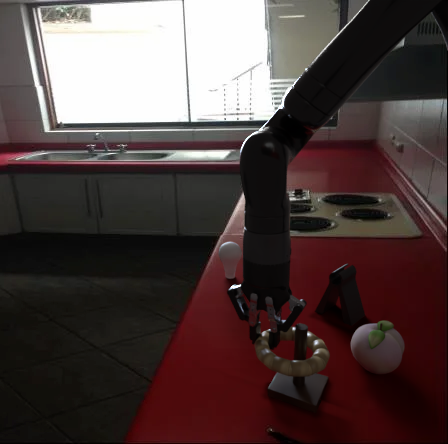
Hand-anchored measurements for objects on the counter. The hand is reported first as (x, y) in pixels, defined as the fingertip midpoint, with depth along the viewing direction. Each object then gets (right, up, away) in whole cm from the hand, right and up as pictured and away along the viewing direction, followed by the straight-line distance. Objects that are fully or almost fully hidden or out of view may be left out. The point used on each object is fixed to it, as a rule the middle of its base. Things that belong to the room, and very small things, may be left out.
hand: (264, 344), depth 73 cm
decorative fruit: (+20, -6, +2) cm, 21 cm away
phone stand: (+21, 0, +19) cm, 29 cm away
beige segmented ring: (+4, 0, -3) cm, 5 cm away
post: (+5, -7, -1) cm, 9 cm away
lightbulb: (+1, +5, +40) cm, 40 cm away
